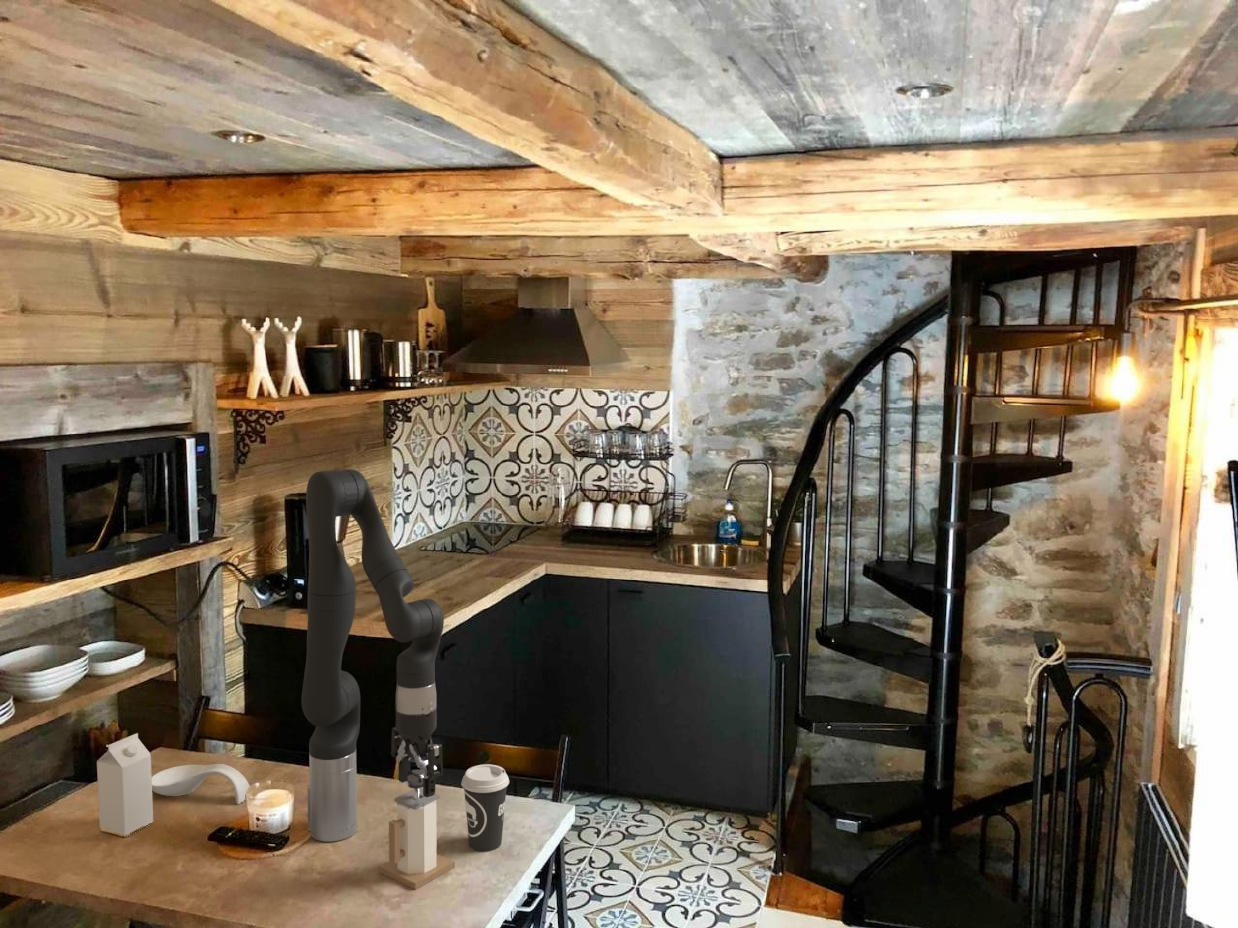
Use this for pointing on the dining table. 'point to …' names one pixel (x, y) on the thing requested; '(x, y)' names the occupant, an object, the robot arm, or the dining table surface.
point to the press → (415, 842)
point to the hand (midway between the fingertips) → (416, 788)
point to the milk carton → (125, 786)
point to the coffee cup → (485, 805)
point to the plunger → (415, 782)
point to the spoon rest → (196, 779)
